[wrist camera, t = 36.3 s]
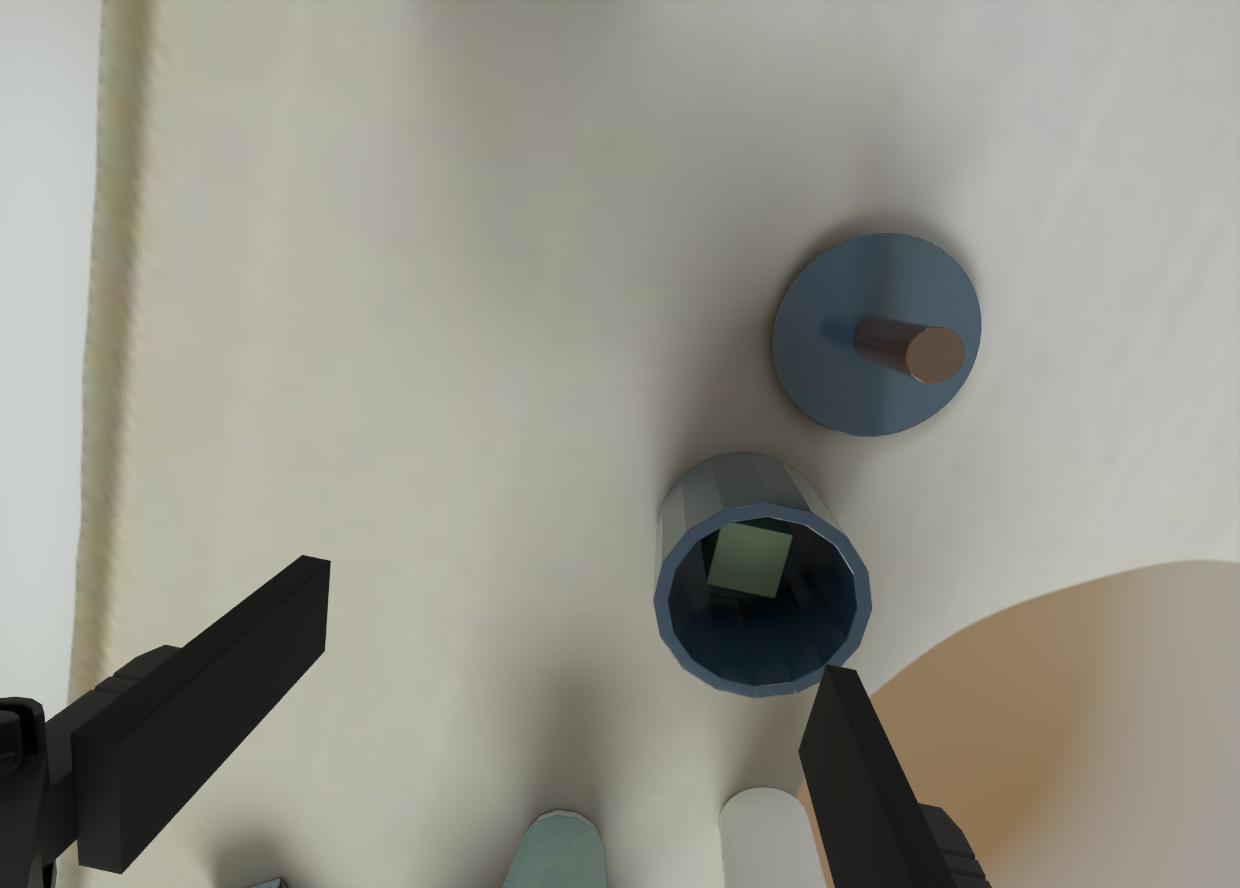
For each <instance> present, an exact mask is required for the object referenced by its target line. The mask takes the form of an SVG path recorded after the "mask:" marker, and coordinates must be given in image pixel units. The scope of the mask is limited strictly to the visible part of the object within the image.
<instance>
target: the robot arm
mask: <svg viewBox="0 0 1240 888" xmlns="http://www.w3.org/2000/svg"><path fill="white" fill-rule="evenodd" d="M330 564H331V561H329V560H324V559H319V558H314V557H309V556H305V555H302V556H300V557H299V558H298V559H297V560H295V561H294V562H293V563H291V564H290V565H289V566H287V567H286V568H285V569H284V570H282V571H281V572H280V573H278V574H277V575H276V576H274V577H273V578H272V579H271V580H269V581H268V582H267V583H265V584H264V585H263V586H262V587H260V588H259V589H258V590H256V591H255V592H254V593H252V594H251V595H250V596H249V597H247V598H246V599H245V600H243V601H242V602H241V603H239V604H238V605H237V606H236V607H234V608H233V609H232V610H230V611H229V612H228V613H226V614H225V615H224V616H223V617H221V618H220V619H219V620H217V621H216V622H215V623H213V624H212V625H211V626H210V627H208V628H207V629H206V630H204V631H203V632H202V633H200V634H199V635H198V636H197V637H195V638H194V639H193V640H191V641H190V642H189V643H187V644H186V645H185V646H184V647H182V648H179V647H174V646H169V645H163V646H161V647H159V648H156V649H154V650H152V651H149V652H147V653H144V654H142V655H140V656H137V657H136V658H134V659H133V660H131V661H130V662H129V663H127V664H126V665H125V666H123V667H122V668H120V669H119V670H118V671H116V672H115V673H114V675H113V676H112V677H111V676H109V677H108V678H107V679H105V680H104V681H102V682H101V683H100V684H98V685H97V686H96V687H95V689H94V690H90V691H89V692H87V693H86V694H84V695H83V696H82V697H80V698H79V699H77V700H76V701H75V702H73V703H72V704H71V705H69V706H68V707H66V708H65V709H64V710H62V711H61V712H60V713H58V714H57V715H55V716H54V717H53V718H51V719H50V720H48V721H47V722H46V723H45V716H44V711H43V707H42V705H41V704H40V703H38V702H37V701H35V700H33V699H30V698H22V697H8V698H0V888H55V884H56V875H57V869H56V858H57V857H59V856H60V855H61V854H62V853H63V852H64V851H65V850H66V849H67V848H68V847H69V846H70V845H71V844H72V843H73V842H74V841H75V840H76V839H77V845H78V860H79V865H82V866H86V867H91V868H95V869H100V870H104V871H109V872H113V873H118V874H122V873H123V872H124V871H125V870H126V869H127V868H128V867H129V866H130V865H131V863H132V862H133V861H134V860H135V859H136V858H137V857H138V856H139V855H140V854H141V852H142V851H143V850H144V849H145V848H146V847H147V846H148V845H149V844H150V843H151V841H152V840H153V839H154V838H155V837H156V836H157V835H158V834H159V833H160V832H161V830H162V829H163V828H164V827H165V826H166V825H167V824H168V823H169V822H170V821H171V819H172V818H173V817H174V816H175V815H176V814H177V813H178V812H179V811H180V810H181V809H182V807H183V806H184V805H185V804H186V803H187V802H188V801H189V800H190V799H191V798H192V796H193V795H194V794H195V793H196V792H197V791H198V790H199V789H200V788H201V787H202V785H203V784H204V783H205V782H206V781H207V780H208V779H209V778H210V777H211V776H212V774H213V773H214V772H215V771H216V770H217V769H218V768H219V767H220V766H221V765H222V763H223V762H224V761H225V760H226V759H227V758H228V757H229V756H230V755H231V754H232V752H233V751H234V750H235V749H236V748H237V747H238V746H239V745H240V744H241V743H242V741H243V740H244V739H245V738H246V737H247V736H248V735H249V734H250V733H251V732H252V730H253V729H254V728H255V727H256V726H257V725H258V724H259V723H260V722H261V721H262V720H263V718H264V717H265V716H266V715H267V714H268V713H269V712H270V711H271V710H272V709H273V707H274V706H275V705H276V704H277V703H278V702H279V701H280V700H281V699H282V698H283V696H284V695H285V694H286V693H287V692H288V691H289V690H290V689H291V688H292V687H293V685H294V684H295V683H296V682H297V681H298V680H299V679H300V678H301V677H302V676H303V674H304V673H305V672H306V671H307V670H308V669H309V668H310V667H311V666H312V665H313V663H314V662H315V661H316V660H317V659H318V658H319V657H320V656H321V655H322V654H323V652H324V651H325V640H326V625H327V610H328V594H329V579H330ZM798 752H799V756H800V759H801V763H802V767H803V771H804V774H805V778H806V782H807V785H808V789H809V793H810V797H811V800H812V803H813V808H814V811H815V815H816V819H817V823H818V826H819V830H820V834H821V837H822V841H823V845H824V849H825V852H826V856H827V860H828V863H829V867H830V871H831V875H832V878H833V882H834V886H835V888H992V887H991V885H990V883H989V882H988V881H986V879H985V874H984V872H983V870H982V868H981V866H980V864H979V862H978V860H975V855H974V853H973V851H972V849H971V847H970V845H969V843H968V841H967V839H966V838H965V836H964V834H963V832H962V830H961V829H960V828H959V827H958V826H957V825H956V824H955V823H954V822H953V821H952V819H951V818H950V817H949V816H948V815H947V814H946V813H945V812H944V811H943V810H942V808H939V807H934V806H929V805H925V804H920V803H918V802H917V800H916V798H915V796H914V793H913V791H912V789H911V787H910V785H909V783H908V781H907V779H906V776H905V774H904V772H903V770H902V768H901V766H900V764H899V762H898V759H897V757H896V755H895V753H894V751H893V749H892V746H891V744H890V742H889V740H888V738H887V736H886V734H885V731H884V729H883V727H882V725H881V723H880V721H879V719H878V717H877V714H876V712H875V710H874V708H873V706H872V704H871V702H870V699H869V697H868V695H867V693H866V691H865V689H864V687H863V684H862V682H861V680H860V678H859V676H858V674H857V672H856V670H852V669H848V668H843V667H838V666H833V665H828V664H826V667H825V670H824V673H823V676H822V679H821V682H820V685H819V688H818V692H817V695H816V698H815V701H814V704H813V707H812V710H811V713H810V716H809V720H808V723H807V726H806V729H805V732H804V735H803V738H802V741H801V744H800V748H799V751H798Z"/></svg>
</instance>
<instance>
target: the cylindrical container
mask: <svg viewBox="0 0 1240 888" xmlns="http://www.w3.org/2000/svg"><path fill="white" fill-rule="evenodd" d="M719 830H720V840H721V851H722V862H723V872H724V883H725V888H827V887H826V883H825V880H824V875H823V872H822V869H821V864H820V861H819V857H818V853H817V849H816V845H815V841H814V838H813V834H812V830H811V827H810V822H809V819H808V816H807V812H806V811H805V809H804V807H803V805H802V804H801V803H800V802H799V801H798V800H797V799H796V798H795V797H793V796H792V795H790V794H789V793H786V792H784V791H782V790H779V789H775V788H768V787H757V788H752V789H747V790H745V791H742V792H740V793H738V794H736V795H735V796H733V797H732V798H731V799H730V800H729V801H728V802H727V803H726V804H725V806H724V807H723V809H722V811H721V814H720V817H719Z"/></svg>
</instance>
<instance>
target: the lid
mask: <svg viewBox="0 0 1240 888" xmlns="http://www.w3.org/2000/svg"><path fill="white" fill-rule="evenodd" d="M980 337H981V314H980V308H979V303H978V300H977V296H976V293H975V290H974V288H973V286H972V284H971V282H970V280H969V278H968V277H967V275H966V274H965V272H964V271H963V269H962V268H961V267H960V266H959V265H958V264H957V262H956V261H955V260H954V259H953V258H952V257H950V256H949V255H948V254H947V253H946V252H944V251H943V250H941V249H940V248H938V247H936V246H935V245H933V244H931V243H929V242H927V241H924V240H922V239H919V238H916V237H912V236H908V235H902V234H893V233H885V234H872V235H866V236H861V237H858V238H854V239H851V240H847V241H845V242H843V243H840V244H838V245H836V246H834V247H832V248H830V249H829V250H827V251H825V252H824V253H822V254H821V255H819V256H818V257H817V258H816V259H814V260H813V261H812V262H810V263H809V264H808V265H807V266H806V267H805V268H804V269H803V270H802V271H801V272H800V274H799V275H798V276H797V278H796V279H795V280H794V281H793V283H792V284H791V286H790V287H789V289H788V291H787V292H786V294H785V296H784V298H783V300H782V302H781V305H780V307H779V310H778V313H777V316H776V320H775V325H774V331H773V356H774V362H775V366H776V371H777V373H778V376H779V379H780V381H781V384H782V385H783V387H784V389H785V391H786V393H787V394H788V396H789V397H790V398H791V400H792V401H793V402H794V404H795V405H796V406H797V407H798V408H799V409H800V410H801V411H802V412H803V413H804V414H806V415H807V416H808V417H810V418H811V419H812V420H814V421H815V422H817V423H819V424H821V425H822V426H824V427H826V428H829V429H831V430H834V431H836V432H840V433H844V434H847V435H854V436H882V435H889V434H893V433H897V432H901V431H903V430H906V429H909V428H911V427H914V426H916V425H918V424H920V423H921V422H923V421H925V420H927V419H928V418H930V417H931V416H933V415H934V414H936V413H937V412H938V411H939V410H940V409H942V408H943V407H944V406H945V405H946V404H947V403H948V402H949V401H950V400H951V399H952V398H953V397H954V396H955V395H956V393H957V392H958V391H959V389H960V388H961V387H962V385H963V384H964V382H965V381H966V379H967V377H968V375H969V373H970V371H971V369H972V367H973V364H974V362H975V359H976V356H977V352H978V348H979V345H980Z"/></svg>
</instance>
